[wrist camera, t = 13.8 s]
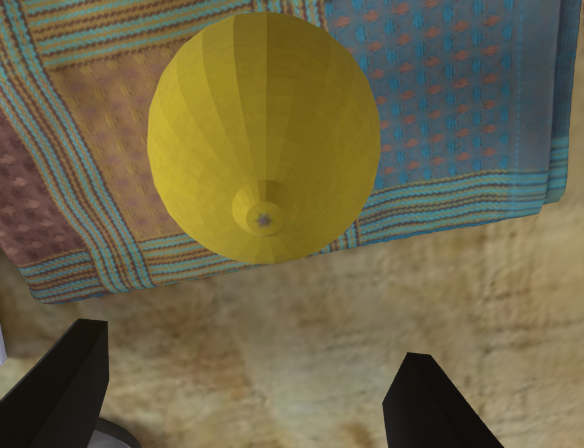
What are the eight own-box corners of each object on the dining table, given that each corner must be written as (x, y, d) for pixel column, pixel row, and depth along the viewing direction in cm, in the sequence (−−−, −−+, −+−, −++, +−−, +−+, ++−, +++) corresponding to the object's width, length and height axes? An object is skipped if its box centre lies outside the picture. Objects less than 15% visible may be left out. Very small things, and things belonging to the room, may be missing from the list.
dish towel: (541, 191, 20) (574, 222, 18) (63, 296, 22) (41, 335, 20) (597, -407, 11) (678, -493, 9) (-239, -134, 13) (-341, -149, 11)
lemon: (211, -41, 12) (143, -19, 6) (381, 43, 14) (491, 141, 7) (159, 132, 15) (72, 290, 8) (307, 187, 16) (335, 360, 10)
